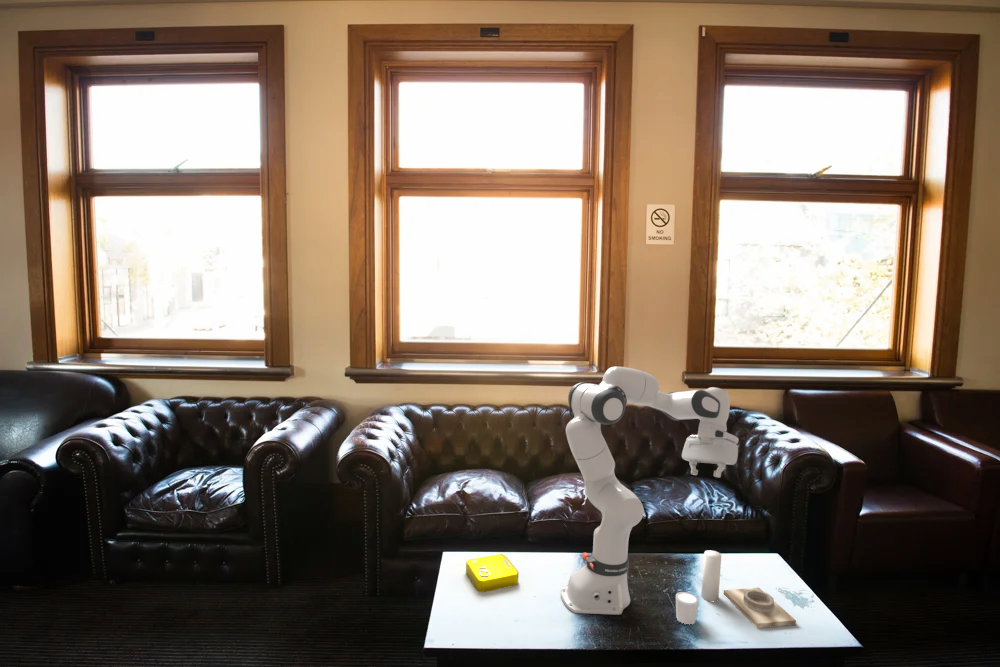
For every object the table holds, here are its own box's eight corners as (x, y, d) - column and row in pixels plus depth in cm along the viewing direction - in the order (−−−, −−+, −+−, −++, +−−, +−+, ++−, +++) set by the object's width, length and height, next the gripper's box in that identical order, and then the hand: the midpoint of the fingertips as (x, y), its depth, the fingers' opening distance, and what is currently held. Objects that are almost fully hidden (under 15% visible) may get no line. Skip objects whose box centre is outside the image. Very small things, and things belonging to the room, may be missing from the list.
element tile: (520, 585, 186) (520, 572, 186) (478, 594, 181) (479, 580, 180) (503, 564, 200) (503, 551, 200) (464, 571, 195) (464, 558, 194)
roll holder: (757, 628, 166) (758, 615, 166) (723, 594, 184) (724, 583, 183) (795, 624, 168) (796, 612, 168) (758, 591, 186) (759, 580, 185)
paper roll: (706, 602, 179) (709, 558, 177) (698, 593, 184) (701, 550, 182) (721, 601, 180) (724, 557, 178) (712, 592, 185) (715, 549, 183)
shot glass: (694, 613, 173) (695, 592, 172) (700, 627, 166) (701, 605, 165) (672, 611, 173) (673, 590, 173) (676, 625, 166) (678, 603, 166)
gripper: (681, 432, 194) (674, 470, 190) (730, 433, 176) (724, 475, 172) (693, 437, 197) (687, 475, 193) (743, 438, 179) (737, 481, 175)
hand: (705, 475), depth 182 cm, fingers open, 8 cm apart
